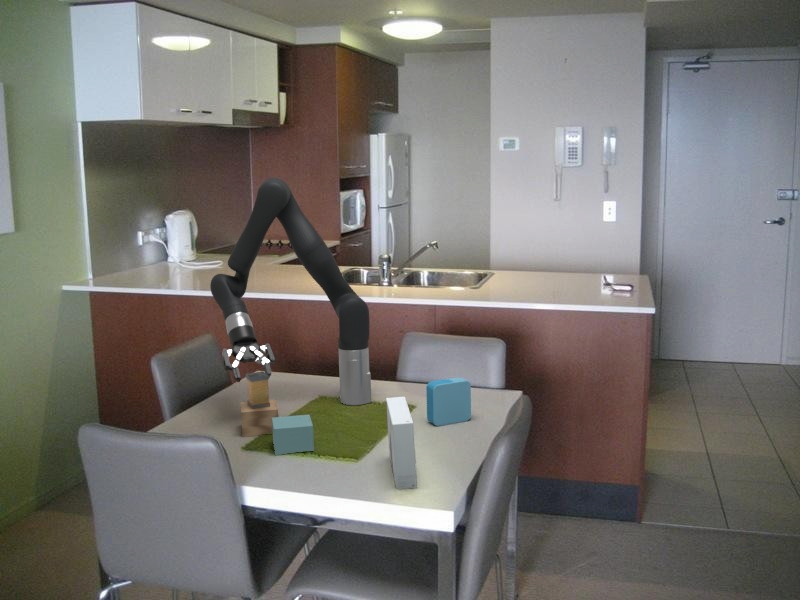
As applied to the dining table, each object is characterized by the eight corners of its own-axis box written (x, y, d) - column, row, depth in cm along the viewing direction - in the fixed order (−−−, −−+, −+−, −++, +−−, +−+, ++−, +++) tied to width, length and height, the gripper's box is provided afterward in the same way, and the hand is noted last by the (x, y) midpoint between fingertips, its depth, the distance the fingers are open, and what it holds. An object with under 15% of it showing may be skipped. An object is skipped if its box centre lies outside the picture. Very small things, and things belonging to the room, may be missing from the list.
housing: (264, 402, 242) (263, 371, 240) (270, 406, 237) (268, 375, 236) (247, 404, 240) (245, 373, 238) (252, 409, 235) (251, 377, 234)
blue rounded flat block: (463, 416, 248) (463, 376, 246) (471, 420, 244) (471, 379, 242) (426, 422, 243) (425, 381, 241) (434, 427, 239) (433, 385, 237)
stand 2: (310, 439, 231) (309, 414, 229) (314, 451, 221) (313, 425, 220) (273, 442, 229) (271, 417, 228) (275, 455, 219) (273, 429, 218)
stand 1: (277, 422, 246) (275, 399, 244) (279, 433, 236) (277, 409, 235) (241, 425, 244) (240, 402, 242) (242, 437, 234) (240, 412, 233)
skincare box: (387, 457, 216) (385, 397, 213) (408, 456, 216) (407, 395, 213) (393, 490, 195) (392, 423, 192) (417, 488, 195) (416, 422, 193)
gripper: (218, 326, 242) (231, 374, 234) (266, 321, 248) (280, 368, 240) (214, 341, 248) (227, 389, 240) (262, 336, 254) (275, 382, 246)
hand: (254, 378), depth 240 cm, fingers open, 8 cm apart
